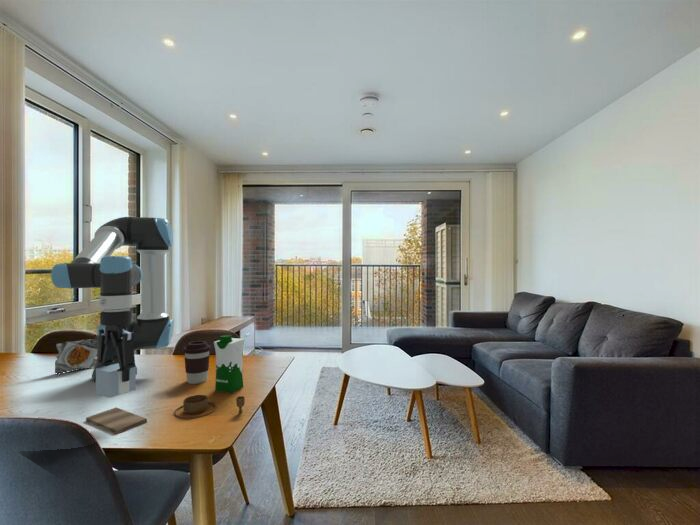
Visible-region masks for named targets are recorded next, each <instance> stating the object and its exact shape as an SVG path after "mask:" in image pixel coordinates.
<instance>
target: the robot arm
mask: <svg viewBox="0 0 700 525" xmlns="http://www.w3.org/2000/svg"><path fill="white" fill-rule="evenodd" d="M173 245H174V237H173V231H172V227H171V223H170V222H169V220H168V219H167V218H161V217H146V216H145V217H139V216H134V217H133V216H123V217H122V216H121V217H117V218H114V219H111V220H109V221H108V222H105V223H104V224H102V225H100V226H99V228H97V229H96V230H95V232H94V237H93V238H92V239H91V241H90V242H88V244H86V246H85V247H84V248H83V249H82V250H80V252H79V253H78V254H77V256H76V257H75V258H73V260H71V261H70V262H69V263H68V262H64V263H63V262H62V263H56V264H54V265H53V267H52V269H51V273H50V278H51V279H50V280H51V283H52V284H53V286H54V287H56V288H58V289H69V290H70V289H71V290H72V289H92V288H93V289H98V288H99V290H100V291H99V296H100V299H99V300H98V302H99V306H100V310H102V311H100V313H99V324H98V326H97V329H96V330H97V332H96V333H97V334H96V339H97V356H96V359H97V362H96V365H95V367H93V371H92V372H91V382H92V381H94V382H93V383H95V382H96V368H100V367H105V366H109V365H113V364H117V363H119V367H120V369H118V370H117V371H118V394H119V395H118V396H120V395H124V394H126V392H127V393H130V392H131V391H130V369H131V368H133V367H135V366H136V376H137V375H138V367H137V365H136V360H135V350H136V351H137V350H151V349H156V350H157V349H162V348H166V347H169V345H170V343H171V340H172V337H173V331H174V319H173V318H170V314H169V313H168V312H166V280H165V279H166V277H165V275H166V266H165V265H166V264H165V262H166V261H165V258H166V256H165V255H166V254H167V253H168V252H169V250H170V248H171V247H173ZM124 246H126V247H127V246H131V247H133V246H134V247H135V248H136V252H137V253H139V254H140V266H138V264H135V263H133V262H132V258H131V257H130V256H125V255H122V256H120V255H115V256H114V255H112V254H113V253H114V252H115V250H118V249H119V248H121V247H124ZM169 247H170V248H169ZM139 283H140V300H141V301H140V306H141V309H140V311H141V312H140V314H139V315H137V317H136V320H133V318H132V317H133V316H132V315H133V314H132V312H133V311H132V310H131V309H132V308H133V294H132V293H133V288H132V287H134V286H137V285H138V284H139ZM129 391H130V392H129ZM123 393H124V394H123Z"/></svg>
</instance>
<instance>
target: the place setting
mask: <svg viewBox="0 0 700 525" xmlns="http://www.w3.org/2000/svg"><path fill="white" fill-rule="evenodd" d="M208 399H209V397H208V395H207V394H206V395H205V394H195V395H191V396H187V397H186V398H184V399H183V402H182V404H183V405H180V406H179V407H177V408H176V409H175V410H174V411H173V414H174V417H176V418H177V419H184V420H191V419H198V418H202V417H205V416H208V415H210V414H212V413H214V412H215V411H216V409H217V404H216V403H214V402H211V401H209V400H208ZM235 399H236V400H235V401H236V406H237V407H238V414H243V407H244V406H245V400H246V398H245V396H243V395H241V396H237V397H236V398H235ZM208 405H212V406H214V408H213V409H212V410H211V411H209V412H207V413H205V414H200V415H197V416H189V417H188V416H179V415H178V414H176V413H177V412H178V411H179V410H180V409H182V408H183V411H184V412H185V413H186V414H188V415H196V414H199V413H202V412H204V411H205V410H206V409H207V408H208Z"/></svg>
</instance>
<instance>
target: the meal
mask: <svg viewBox="0 0 700 525" xmlns="http://www.w3.org/2000/svg"><path fill="white" fill-rule="evenodd" d="M55 346H56V349H57V351H58V353H57V354H56V355H55V356H54V357H56V360H55V361H54V374H55V373H57V374H59V373H63V372H67V371H72V370H76V369H81V368H85V369H86V368H90V369H91V368H95V365H96V362H97V358H96V357H97V338H92V339H91V338H90V339H82V340H75V341H71V340H70V341H65V342H60V343H56V344H55ZM81 370H82V369H81ZM76 371H77V370H76ZM72 372H73V371H72ZM63 374H64V373H63Z"/></svg>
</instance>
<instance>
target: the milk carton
mask: <svg viewBox="0 0 700 525" xmlns="http://www.w3.org/2000/svg"><path fill="white" fill-rule="evenodd" d="M244 344H245V338H237V337H232V335H231V334H222V335H220V336H219V340H216V341H213V345H214V351H215V383H214V384H215V387H214V388H215V390H214V391H215V392H221V393H226V394H232V393H234V392H236V391H238V390H240V389H242V388H244V377H243V350H244Z"/></svg>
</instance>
